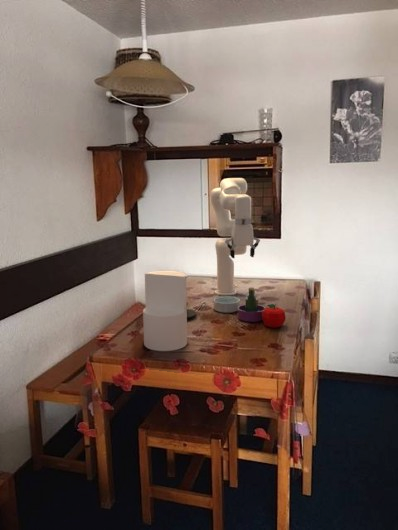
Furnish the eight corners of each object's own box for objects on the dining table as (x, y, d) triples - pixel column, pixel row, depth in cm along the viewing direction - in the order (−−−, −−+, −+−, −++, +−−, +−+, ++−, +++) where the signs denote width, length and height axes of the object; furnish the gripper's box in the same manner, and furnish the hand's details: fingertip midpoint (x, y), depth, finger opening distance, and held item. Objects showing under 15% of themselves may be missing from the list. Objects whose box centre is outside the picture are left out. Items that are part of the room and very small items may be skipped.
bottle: (249, 314, 218) (250, 286, 216) (260, 316, 214) (260, 287, 212) (242, 317, 214) (242, 288, 211) (252, 319, 210) (253, 290, 207)
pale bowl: (224, 304, 238) (224, 295, 237) (244, 309, 230) (245, 299, 229) (208, 309, 229) (208, 300, 228) (228, 314, 220) (228, 304, 219)
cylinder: (156, 333, 194) (154, 269, 189) (193, 338, 188) (193, 272, 183) (136, 347, 179) (133, 277, 173) (175, 353, 172) (174, 281, 167)
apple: (280, 321, 210) (280, 300, 208) (289, 328, 200) (290, 306, 198) (258, 322, 208) (258, 301, 206) (266, 330, 197) (266, 307, 195)
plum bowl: (248, 312, 223) (248, 302, 222) (270, 317, 215) (271, 307, 214) (231, 318, 214) (232, 308, 213) (254, 324, 205) (254, 313, 204)
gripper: (257, 220, 222) (256, 255, 225) (223, 221, 218) (223, 256, 222) (262, 222, 215) (262, 257, 218) (227, 223, 211) (227, 259, 214)
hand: (242, 257), depth 220 cm, fingers open, 9 cm apart
